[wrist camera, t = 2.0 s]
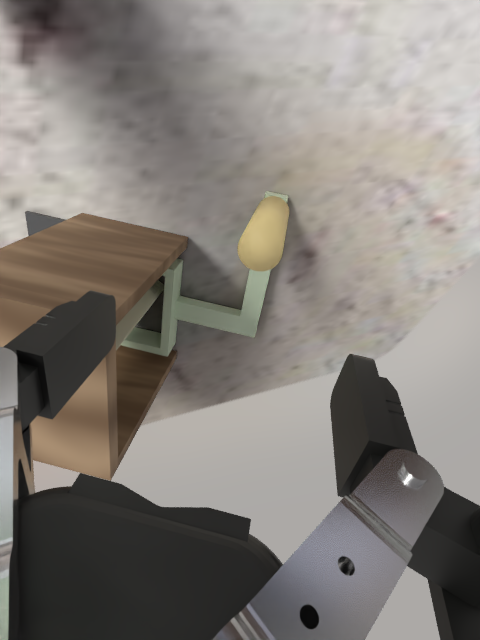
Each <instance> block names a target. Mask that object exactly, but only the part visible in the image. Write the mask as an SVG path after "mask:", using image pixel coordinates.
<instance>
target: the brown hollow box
mask: <svg viewBox="0 0 480 640" xmlns="http://www.w3.org/2000/svg"><path fill="white" fill-rule="evenodd" d="M187 243H188V237H186V236H181V235H177V234H173V233H168V232H164V231H159V230H155V229H151V228H146V227H142V226H137V225H133V224H128V223H124V222H120V221H115V220H111V219H106V218H102V217H98V216H93V215H89V214H84V213H81V214H79V215H77V216H74V217H72V218H70V219H68V220H65V221H63V222H61V223H58V224H56V225H54V226H51V227H49V228H47V229H44V230H42V231H40V232H37V233H35V234H33V235H31V236H28V237H26V238H24V239H21V240H19V241H17V242H14V243H12V244H10V245H7V246H5V247H3V248H0V347H4V346H5V345H6V344H8V343H9V342H10V341H11V340H13V339H14V338H15V337H17V336H18V335H19V334H21V333H22V332H23V331H25V330H26V329H27V328H29V327H30V326H31V325H33V324H34V323H35V324H36V322H37V321H38V320H39V319H40V318H42V317H43V316H44V317H45V315H46V314H47V313H48V312H50V311H51V310H52V309H54V308H55V307H56V306H59V305H61V304H64V303H67V302H69V301H77V300H78V299H79V298H81V297H82V296H83V295H84V294H86V293H87V292H88V291H90V290H92V291H96V292H100V293H105V294H109V295H113V296H114V297H115V301H116V325H117V324H118V323H119V322H120V321H121V320H122V319H123V318H124V316H125V315H126V314H127V313H128V312H129V311H130V310H131V309H132V308H133V307H134V305H135V304H136V303H137V302H138V301H139V300H140V299H141V298H142V297H143V296H144V294H145V293H146V292H147V291H148V290H149V289H150V288H151V287H152V286H153V285H154V283H155V282H156V281H157V280H158V279H159V278H160V277H161V276H162V275H163V274H164V272H165V271H166V270H167V269H168V268H169V267H170V266H171V265H172V264H173V262H174V261H175V260H176V259H177V258H178V257H179V256H180V255H181V254H182V253H183V251H184V250H185V249H186V248H187ZM176 356H177V351H174V350H171V352H170V353H169V355H168V357H167V356H163V355H158V354H154V353H150V352H146V351H142V350H138V349H134V348H130V347H126V346H122V345H120V346H119V348H118V349H117V350H116V338H115V342H114V345H113V347H112V349H111V350H110V352H109V353H108V354H107V355H106V356H105V358H104V359H103V360H102V361H101V362H100V364H99V365H98V366H97V367H96V368H95V370H94V371H93V372H92V373H91V374H90V375H89V377H88V378H87V379H86V380H85V381H84V383H83V384H82V385H81V386H80V387H79V389H78V390H77V391H76V392H75V393H74V395H73V396H72V397H71V398H70V399H69V401H68V402H67V403H66V404H65V405H64V406H63V408H62V409H61V410H60V411H59V412H58V414H57V415H56V416H55V417H54V418H53V420H52V419H48V418H45V417H41V416H36V418H35V419H34V420H33V421H32V422H31V423H30V424H31V429H32V450H33V460H35V461H39V462H42V463H46V464H50V465H54V466H58V467H61V468H65V469H69V470H73V471H76V472H80V473H84V474H87V475H91V476H95V477H99V478H102V479H106V480H110V481H111V479H112V477H113V475H114V473H115V471H116V470H117V468H118V466H119V464H120V462H121V460H122V459H123V457H124V455H125V453H126V451H127V449H128V447H129V446H130V444H131V442H132V440H133V438H134V436H135V434H136V432H137V431H138V429H139V427H140V425H141V423H142V421H143V419H144V418H145V416H146V414H147V412H148V410H149V408H150V406H151V405H152V403H153V401H154V399H155V397H156V395H157V393H158V391H159V390H160V388H161V386H162V384H163V382H164V380H165V378H166V377H167V375H168V373H169V371H170V369H171V367H172V365H173V364H174V362H175V360H176Z"/></svg>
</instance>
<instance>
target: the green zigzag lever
mask: <svg viewBox="0 0 480 640" xmlns="http://www.w3.org/2000/svg"><path fill="white" fill-rule="evenodd" d="M287 200H288V196H287V195H282V194H278V193H273V192H269V191H266V193H265V197H264V199H263V200H262V201H261V202H260V203H259V205H258V207H257V209H256V210H255V212H254V214H253V216H252V218H251V220H250V222H249V223H248V225H247V227H246V229H245V231H244V233H243V235H242V236H241V238H240V240H239V243H238V255H239V258H240V260H241V261H242V263H243V264H244V265H245V266H246V267H248V268H249V269H250V271H249V275H248V280H247V285H246V290H245V295H244V300H243V305H242V310H238V309H234V308H230V307H226V306H221V305H217V304H213V303H209V302H204V301H200V300H196V299H192V298H187V297H183V296H180V289H181V278H182V267H183V260H181V259H176V260H175V261H174V262H173V264H172V265H171V266H170V267H169V268H168V269H167V270H166V271H165V272H164V274H163V275H162V276H165V285H164V300H163V316H162V331H161V333H158V332H154V331H149V330H145V329H141V328H137V327H134V329H133V330H132V331H131V332H130V334H129V335H128V336H127V338H126V339H125V340H124V341H123V343H122V344H121V345H122V346H126V347H130V348H134V349H138V350H142V351H146V352H150V353H154V354H158V355H163V356H167V357H168V355H169V353H170V352H171V350H172V348H173V346H174V345H175V343H176V332H177V321H178V320H181V321H186V322H190V323H194V324H198V325H202V326H207V327H211V328H215V329H219V330H223V331H227V332H232V333H236V334H240V335H244V336H248V337H253V338H255V334H256V330H257V326H258V322H259V317H260V313H261V309H262V305H263V301H264V297H265V292H266V288H267V284H268V280H269V276H270V271H271V269H272V268H274V267H275V266H276V265H277V264H278V263H279V261H280V260H281V257H282V253H283V247H284V242H285V236H286V230H287V224H288V218H289V208H288V205H287Z"/></svg>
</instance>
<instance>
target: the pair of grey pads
mask: <svg viewBox="0 0 480 640" xmlns="http://www.w3.org/2000/svg"><path fill="white" fill-rule="evenodd" d="M25 215H26V221H27V228H28V234H29V236H31V235H33V234H35V233H37V232H40V231H42V230H44V229H47V228H49V227H51V226H54V225H56V224H58V223H61V222H63V221H65V220H64V219H60V218H55V217H51V216H47V215H42V214H38V213H34V212H29V211H26V212H25Z"/></svg>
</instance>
